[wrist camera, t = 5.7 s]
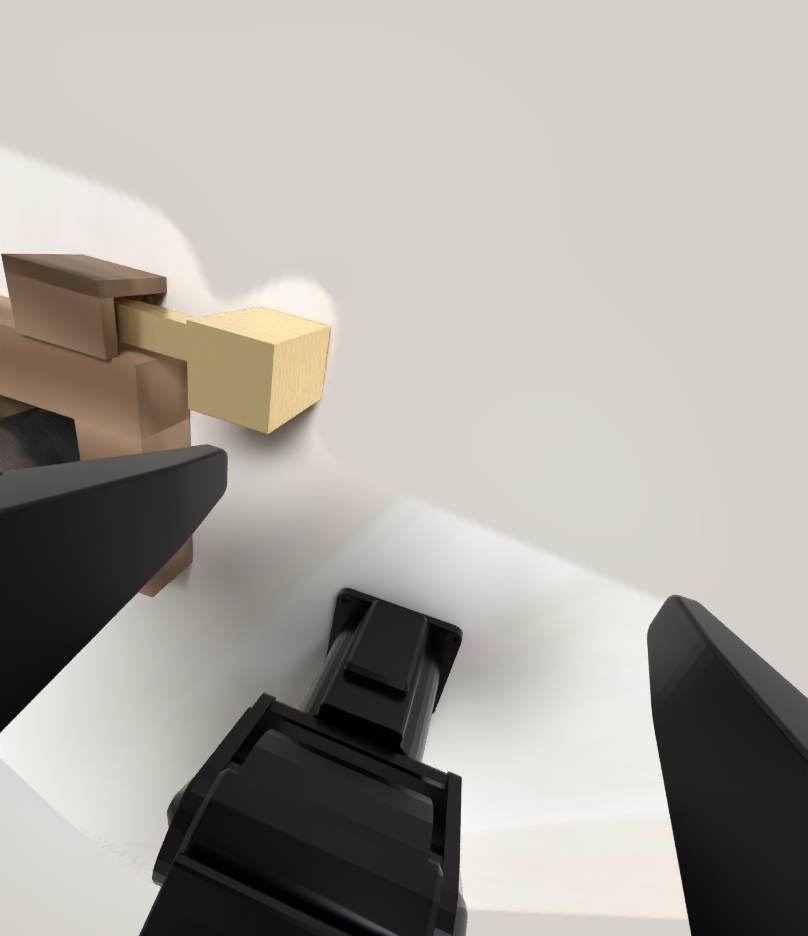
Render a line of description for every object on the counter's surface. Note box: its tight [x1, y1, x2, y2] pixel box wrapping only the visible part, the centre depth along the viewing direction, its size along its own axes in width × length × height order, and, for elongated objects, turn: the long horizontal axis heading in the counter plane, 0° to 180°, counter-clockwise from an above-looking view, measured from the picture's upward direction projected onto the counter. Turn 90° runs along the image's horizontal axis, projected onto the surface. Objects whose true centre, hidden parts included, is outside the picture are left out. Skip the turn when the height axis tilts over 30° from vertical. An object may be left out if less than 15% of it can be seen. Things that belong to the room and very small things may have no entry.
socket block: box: [0, 254, 192, 597], centre depth 21 cm, size 15×12×3 cm
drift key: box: [113, 297, 330, 434], centre depth 17 cm, size 3×11×4 cm, turn 77°
